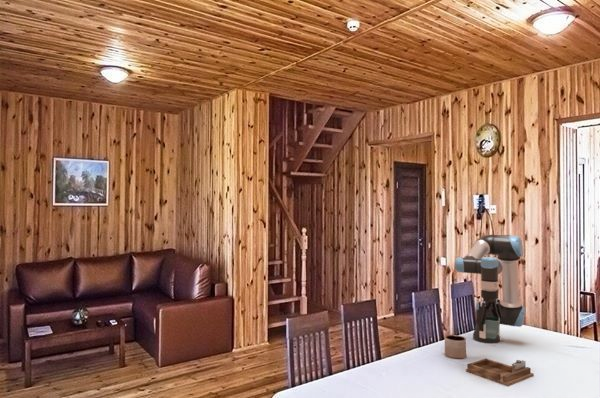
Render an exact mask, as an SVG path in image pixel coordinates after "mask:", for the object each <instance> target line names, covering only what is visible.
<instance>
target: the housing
mask: <svg viewBox="0 0 600 398" xmlns="http://www.w3.org/2000/svg"><path fill="white" fill-rule="evenodd" d="M466 366H467V368H466V369H465V372H466V373H467V374H471V375H474V376H477V377H480V378H483V379H484V380H488V381H491V382H494V383H497V384H500V385H503V386H506V387H509V386H512V385H515V384H517V383H520V382H523V381H525V380H527V379H530V378H532V377H534V376H535V375H534V373H533V372H531V367H528V366H527V367H526V368H523V369H521V370H518V371H515V372H512V365H508V364H506V363H505V364H504V363H502V362H498V361H495V360H493V359H489V358H483V359H480V360H477V361H473V362H470V363H467V365H466Z"/></svg>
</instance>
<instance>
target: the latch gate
mask: <svg viewBox="0 0 600 398" xmlns="http://www.w3.org/2000/svg"><path fill="white" fill-rule="evenodd" d="M526 365H527V363H526V360H524V359H523V360H522V359H521V360H519V359H517V360H516V362H514V363H512V364H511V366H512V372H515V371H518V370H521V369H523V368H526Z"/></svg>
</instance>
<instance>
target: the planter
mask: <svg viewBox="0 0 600 398" xmlns="http://www.w3.org/2000/svg"><path fill="white" fill-rule="evenodd" d="M444 355H445V356H447V357H448V358H450V359H455V360H456V359H457V360H460V359H461V360H463V359H464V358H466V357H467V338H466V337H464V336H463V335H462V336H461V335H457V334H456V335H455V334H449V335H448V334H447V335H445V336H444Z"/></svg>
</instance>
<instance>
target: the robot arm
mask: <svg viewBox="0 0 600 398" xmlns="http://www.w3.org/2000/svg"><path fill="white" fill-rule="evenodd" d="M523 250H524V246H523V242H522V239H521V237H520V236H518V235H511V234H487V235H484V236H481V237H479V238H477V239H476V240H475V241H474V242H473V243H472V245H471V248H470V250H469V251H468V252H467V253H466V254H465V256H464V257H457V258H455V261H454V269H455V271H456V272H458V273H462V274H477V275H480V288H481V290H480V297H481V298H482V299H483V300H479V301H477V302H476V303H475V328H474V331H473V334H472V339H473V340H475V341H476V342H480V343H484V344H498V343H500V342H501V336H500V335H501V333H500V332H501V331H500V328H501V325H503V326H510V327H520V328H521V327H522V326H523V325H524V322H525V317H526V307H525V306H523V303H522V302H521V300H520V296H519V295H520V293H519V272H518V271H519V270H518V269H519V268H518V261H519V260H521V257H523V255H524V251H523ZM487 255H490V256H487ZM491 255H492V257H491ZM494 256H497V257H494ZM499 274H501V289H502V290H501V292H502V300H501V299H498V298H499V291H498V289H499ZM487 316H489V317H498V318H500V323H499V331H498V334H497V337H496V338H495V339H493V338H486V324H484V323H485V320H486V318H487ZM482 321H483V322H482Z"/></svg>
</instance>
